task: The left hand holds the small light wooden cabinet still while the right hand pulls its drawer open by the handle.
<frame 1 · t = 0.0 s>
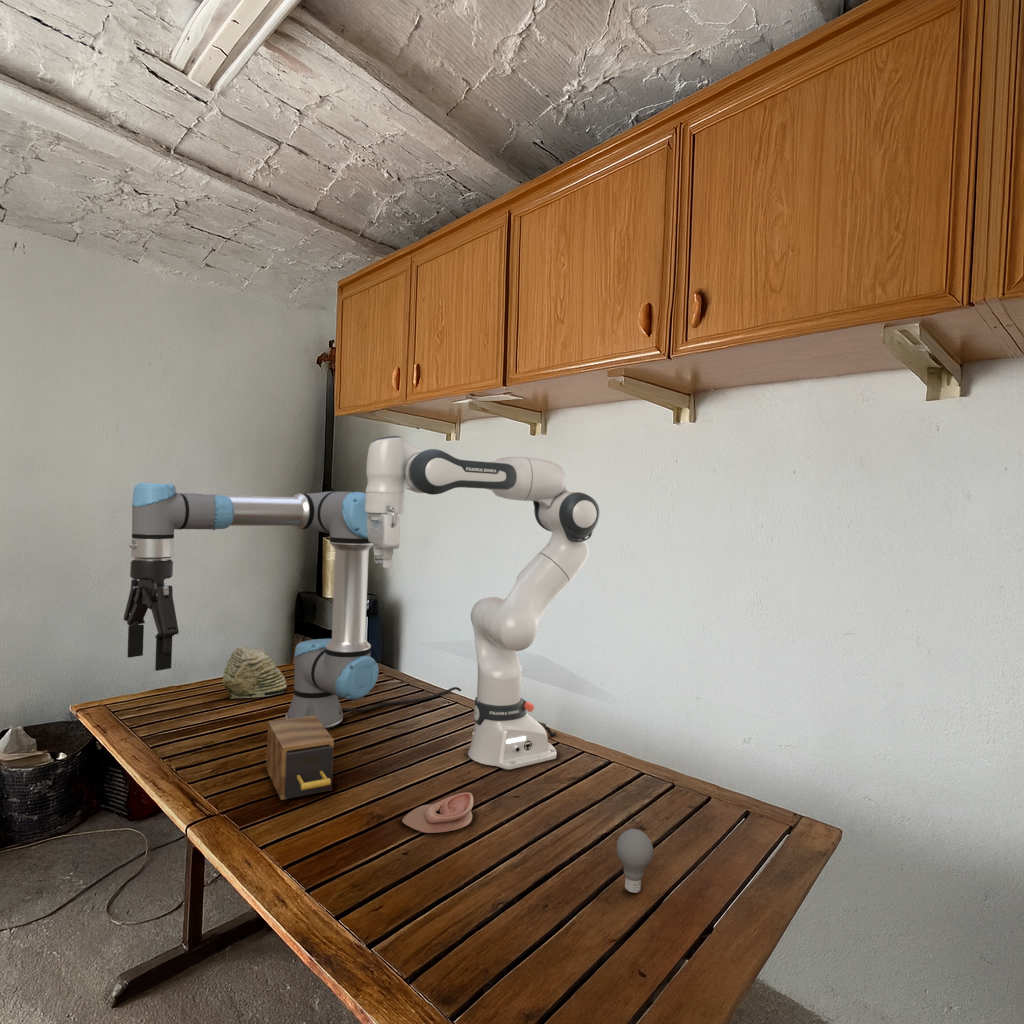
left hand: (148, 662, 129), 28 cm above the table, tool pointing down, fingers open, 13 cm apart
right hand: (382, 565, 147), 48 cm above the table, tool pointing down, fingers open, 8 cm apart
drawer: (304, 763, 137), point 6 cm above the table, slide at 0.6 cm
fossil: (254, 694, 198), on the table
anatomical model: (438, 820, 126), on the table
light bulb: (632, 891, 106), on the table
cabinet: (298, 779, 141), on the table
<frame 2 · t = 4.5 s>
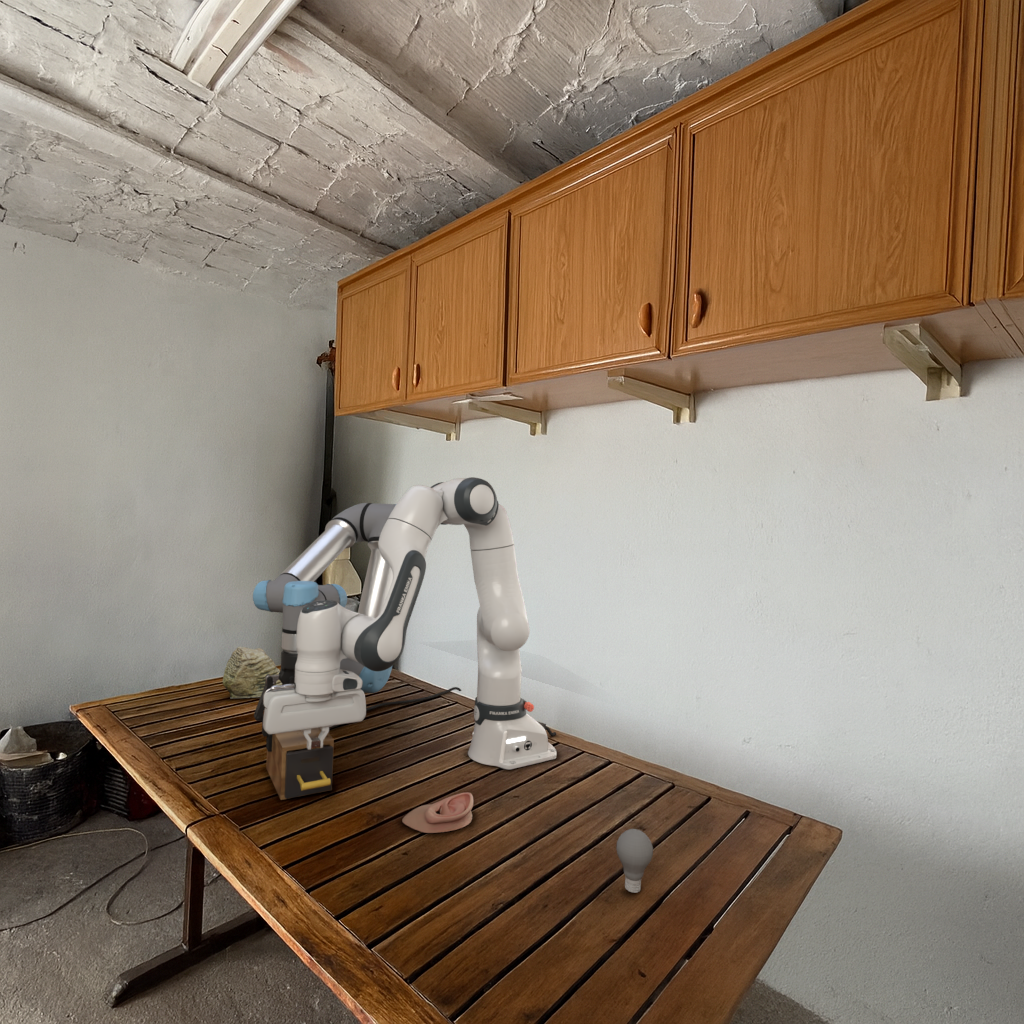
left hand: (295, 745, 145), 6 cm above the table, tool pointing down, fingers closed on cabinet, 11 cm apart
right hand: (314, 747, 130), 12 cm above the table, tool pointing down, fingers closed
cabinet: (298, 779, 141), on the table, touching left hand
everything else where it was.
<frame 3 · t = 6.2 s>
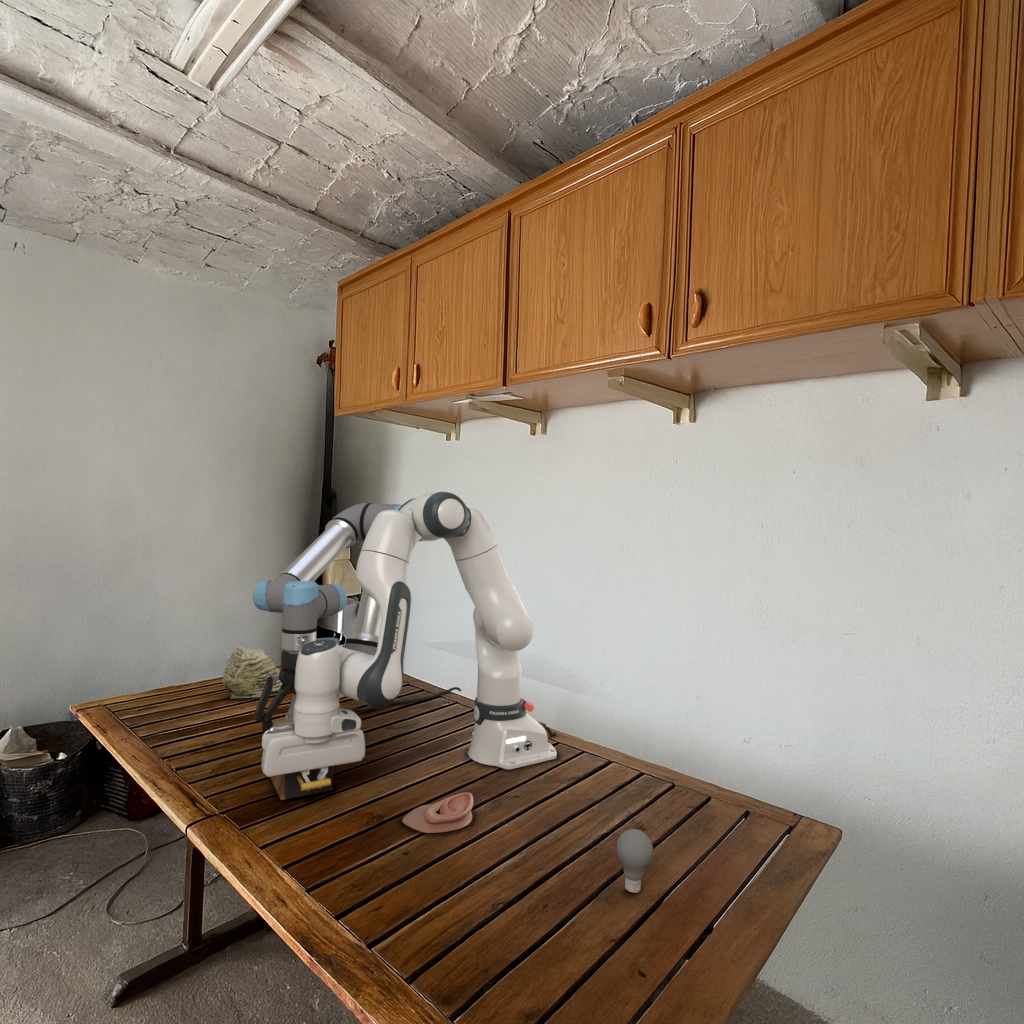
left hand: (295, 745, 145), 6 cm above the table, tool pointing down, fingers closed on cabinet, 11 cm apart
right hand: (313, 788, 129), 4 cm above the table, tool pointing down, fingers closed, pressing on drawer
drawer: (304, 764, 137), point 6 cm above the table, slide at 0.7 cm, touching right hand
cabinet: (298, 779, 141), on the table, touching left hand
everything else where it was.
when the left hand's fingers open (6 cm above the table, at t = 9.1 s): cabinet stays where it is, on the table.
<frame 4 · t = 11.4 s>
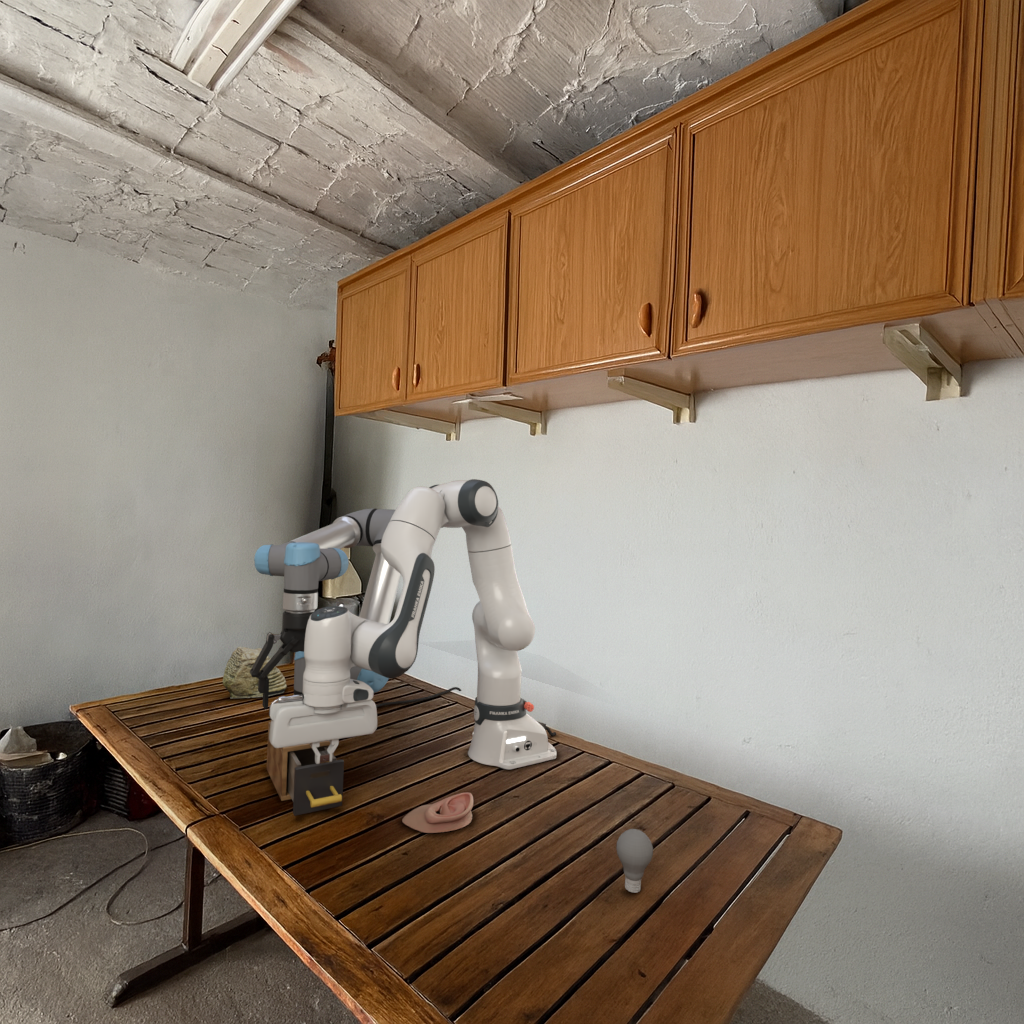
left hand: (296, 703, 145), 16 cm above the table, tool pointing down, fingers open, 13 cm apart
right hand: (323, 762, 123), 12 cm above the table, tool pointing down, fingers closed
drawer: (313, 778, 130), point 6 cm above the table, slide at 8.0 cm
cabinet: (298, 779, 141), on the table
everything else where it was.
at the end: drawer slide at 8.0 cm; cabinet tilted 0°; cabinet never tilted more than 2° during the clip; cabinet moved 0.4 cm from its start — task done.
